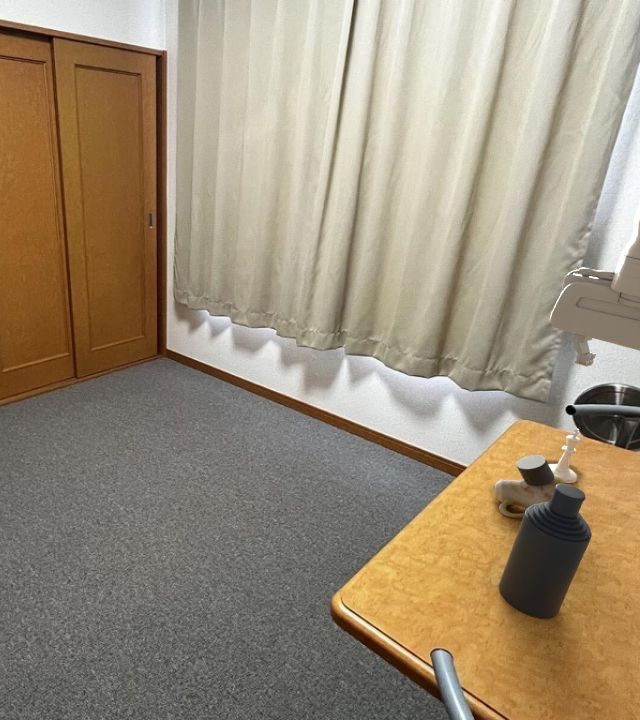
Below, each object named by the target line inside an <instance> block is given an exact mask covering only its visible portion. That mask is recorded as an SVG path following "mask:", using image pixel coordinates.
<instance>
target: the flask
mask: <svg viewBox="0 0 640 720" xmlns="http://www.w3.org/2000/svg"><path fill="white" fill-rule="evenodd" d="M554 489H555V490H554V492H553V495H552V498H551V500H550V501H549V502H544V503H539V504H534V505H532V506H530V507H529V508H528V509H525V511H524V513H525V514H524V517H523V518H522V520H521V522H520V525H519V528H518V531H517V534H516V537H515V539H514V541H513V545H512V547H511V550H510V552H509V556H508V559H507V561H506V564H505V567H504V569H503V573H502V576H501V578H500V580H499V582H498V589H499V592H500V594H501V596H502V597H503V599H504V600H505V601H506V602H507V603H508V604H509V605H510V606H512V607H513V608H514V609H516V610H517V611H519V612H521V613H523V614H525V615H527V616H530V617H531V618H532V617H533V618H537V619H540V620H541V619H542V620H550V619H552V618H555V617H556V616H557V615H558V614H559V612H560V609H561V607H562V605H563V603H564V600H565V598H566V596H567V593H568V591H569V589H570V586H571V584H572V582H573V580H574V578H575V575H576V573H577V571H578V570H579V569H578V568H579V566H580V565H581V562H582V560H583V558H584V555H585V553H586V550H587V549H588V547H589V544H590V542H591V540H592V536H593V535H592V534H593V533H592V531H591V527H590V525H589V523H587V521H586V520H585V518H584V517H583V516H582V514H581V513H580V510H581V508H582V505H583V504H584V501H586V498H587V497H586V494H585V492H583V490H581V489H580V488H578V487H576V486H574V485H570V484H568V483H563V484H558V485H556V486H555V488H554Z"/></svg>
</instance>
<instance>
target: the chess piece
mask: <svg viewBox="0 0 640 720" xmlns="http://www.w3.org/2000/svg"><path fill="white" fill-rule="evenodd" d="M579 433H580V429H579V428H577V427H575V429H574V431H573V432H572V434H571V435H570V434H569V435H566V437H565V440H566V445H563V446H562V447H561V450H562V451H563V454H562V456H561V457H560V459H559V461H558V462H557V463H555V464H554V463H550V464H549V463H548V464H549V466H550V468H551V470H552V472H553V474H554V475H557V476H561V477H562V479H563V484H574V483H576V482H577V479H578V474H577V473H576V472H575V471H574V470H572V469H571V468H570V462H571V457H572V454H573V455H574V454H577V452H578V451H577V449H576V447H577V446H578V444H580V443H581V438H579V437H578V434H579Z"/></svg>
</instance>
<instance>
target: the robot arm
mask: <svg viewBox="0 0 640 720" xmlns="http://www.w3.org/2000/svg"><path fill="white" fill-rule="evenodd" d="M549 322H550V324H551V327H552V328H554V329H557V330H561V331H564V332H568V333H571V334H573V337H572V343H573V346H574V348H575V352H576V357H575V360H574V363H575V364H576V365H579V366H583V367H586V368H587V367H591V366H592V365H593V364H594V359H596V356H597V353H593V352H591V350H590V346H589V341H592V340H593V339H594V340H598V341H602V342H606V343H609V344H613V345H617V346H621V347H623V348H624V347H625V348H627V349H632V350H636V351H638V352H639V351H640V204H639V205H638V207H637V210H636V213H635V216H634V219H633V233H632V236H631V237H630V240H629V242H628V243H627V244H626V245H625V247H624V248H623V250H622V252H621V254H620V257H619V260H618V263H617V265H616V269H615V272H614V271H608V270H607V271H606V270H598V269H597V270H596V269H592V268H588V267H580V268H579V269H576V270H572V271H570V272H568V273H567V274H566V275H565V277H564V278H563V283H562V285H561V293H560V295H559V297H558V298H557V300H556V302H555V304H554V307H553V309H552V311H551V313H550V317H549Z"/></svg>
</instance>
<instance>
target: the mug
mask: <svg viewBox="0 0 640 720" xmlns="http://www.w3.org/2000/svg"><path fill="white" fill-rule="evenodd" d="M558 484H564V482H563V479H562V477H561V476H557V475H554V480H553V481H552V482H551V483H549V484H546V485H543V486H530V485H528V484H526V483H525V481H524V479H523V478H521V479H499V480H498V481H496V483H495V485H494V496H495V498H496V499H497V500H498V501H499V502H500V504H499V507H498V511H499V512H500V513H501V514H502V515H504V516H506V517H508V518H512V519H523V517H524V514H525V512H521V513H514V512H513V513H512V512H510V511H508V510H507V507H508V506H518V507H521V508H524V509H525V510H527V509H528V508H529V507H530V506H532V505H534V504H539V503H544V502H549V501H550V500H551V498H552V495H553V492H554V490H555V489H554V488H555V486H556V485H558Z"/></svg>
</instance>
